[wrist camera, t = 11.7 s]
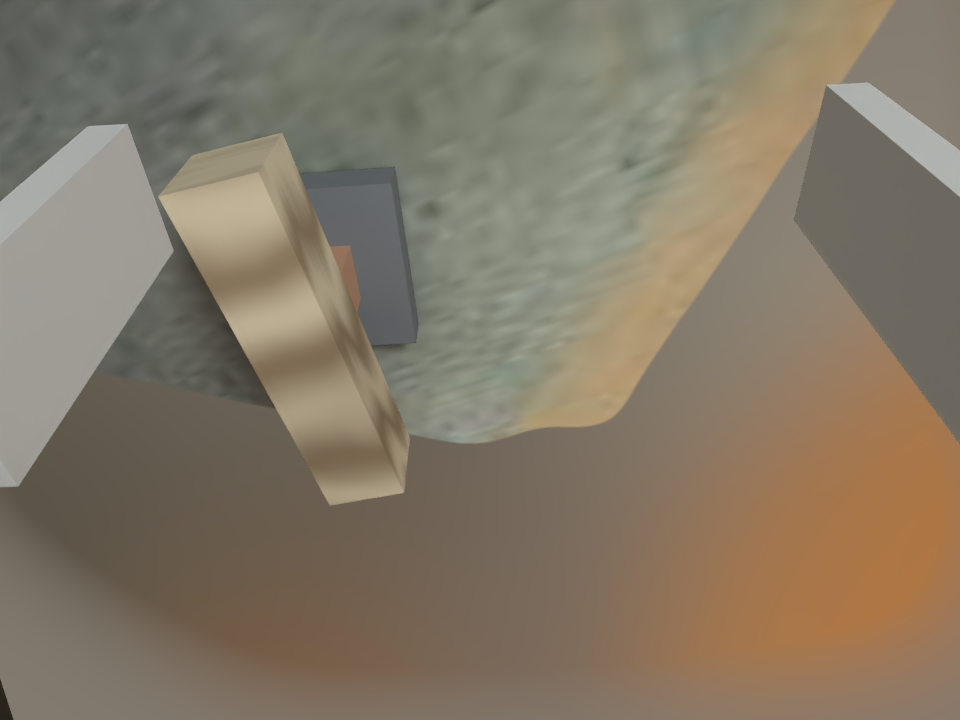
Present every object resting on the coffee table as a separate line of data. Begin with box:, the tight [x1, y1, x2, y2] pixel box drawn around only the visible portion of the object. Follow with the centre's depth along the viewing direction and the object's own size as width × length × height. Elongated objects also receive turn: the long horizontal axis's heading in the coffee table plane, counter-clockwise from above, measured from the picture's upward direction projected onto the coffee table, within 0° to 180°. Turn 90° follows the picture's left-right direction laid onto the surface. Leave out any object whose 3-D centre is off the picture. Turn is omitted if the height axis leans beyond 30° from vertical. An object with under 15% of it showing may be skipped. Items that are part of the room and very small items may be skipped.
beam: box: [158, 133, 410, 505], centre depth 41 cm, size 22×5×5 cm, turn 14°
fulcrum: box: [300, 167, 418, 346], centre depth 46 cm, size 12×10×8 cm
